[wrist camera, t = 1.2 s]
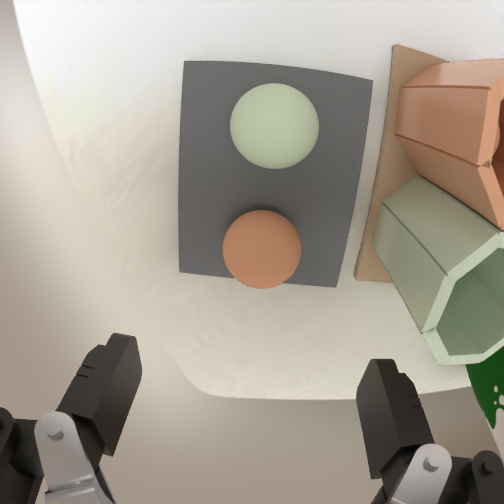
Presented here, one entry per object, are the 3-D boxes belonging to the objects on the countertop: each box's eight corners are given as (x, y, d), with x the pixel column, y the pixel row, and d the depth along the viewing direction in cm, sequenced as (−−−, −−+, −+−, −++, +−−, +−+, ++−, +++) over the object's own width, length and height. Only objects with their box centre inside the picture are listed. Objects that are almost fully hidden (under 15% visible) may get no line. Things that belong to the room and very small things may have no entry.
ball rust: (302, 204, 20) (310, 232, 16) (293, 267, 22) (297, 307, 18) (229, 196, 20) (218, 223, 16) (226, 261, 22) (216, 299, 18)
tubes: (495, 83, 15) (593, 97, 7) (448, 283, 22) (505, 366, 14) (393, 45, 15) (480, 17, 7) (354, 275, 22) (391, 375, 14)
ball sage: (316, 90, 17) (330, 87, 13) (308, 164, 19) (318, 183, 15) (238, 82, 17) (228, 76, 13) (232, 156, 19) (221, 173, 15)
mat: (370, 81, 16) (372, 80, 16) (334, 282, 23) (336, 287, 22) (186, 62, 17) (184, 61, 16) (181, 267, 23) (179, 272, 22)
